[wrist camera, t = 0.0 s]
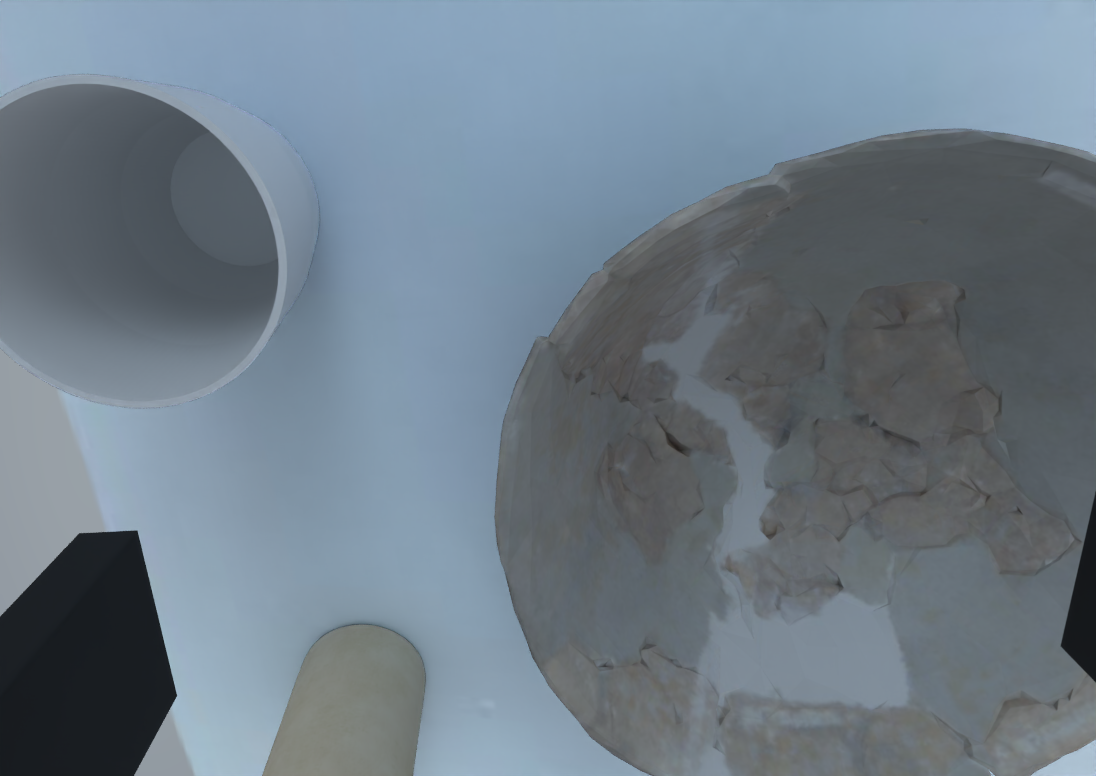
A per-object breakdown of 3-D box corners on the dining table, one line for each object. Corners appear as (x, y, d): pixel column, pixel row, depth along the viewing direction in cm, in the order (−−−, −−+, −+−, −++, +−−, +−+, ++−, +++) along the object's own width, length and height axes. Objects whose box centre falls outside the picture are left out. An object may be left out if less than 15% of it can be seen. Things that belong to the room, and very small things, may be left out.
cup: (77, 199, 29) (-129, 256, 20) (218, 21, 27) (66, -9, 18) (262, 350, 31) (156, 467, 22) (404, 195, 29) (355, 250, 20)
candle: (406, 734, 38) (372, 948, 29) (288, 705, 37) (214, 916, 28) (442, 641, 36) (418, 836, 27) (319, 608, 35) (251, 798, 26)
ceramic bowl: (556, 52, 28) (580, 38, 19) (1162, 184, 30) (1451, 231, 21) (453, 595, 35) (433, 780, 26) (947, 666, 38) (1090, 858, 29)
